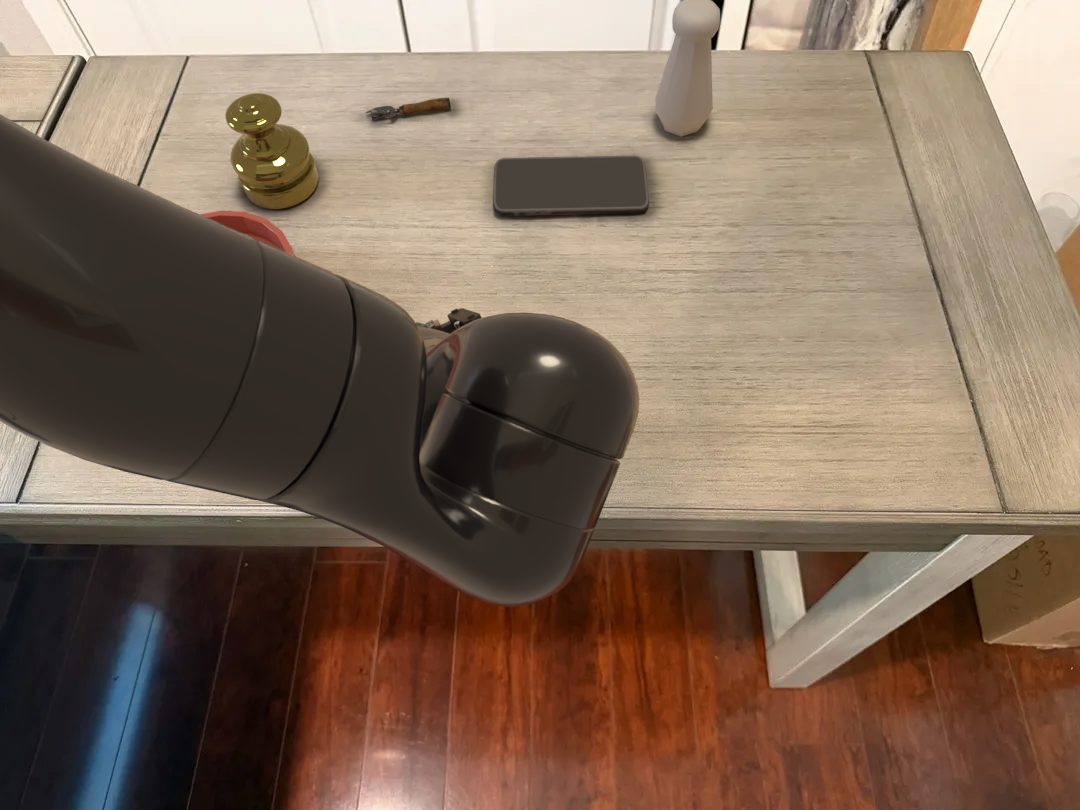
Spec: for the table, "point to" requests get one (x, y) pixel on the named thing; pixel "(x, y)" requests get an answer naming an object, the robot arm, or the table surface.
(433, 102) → the can opener
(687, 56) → the salt shaker
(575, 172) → the smartphone
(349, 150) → the table surface
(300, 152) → the brass weight
